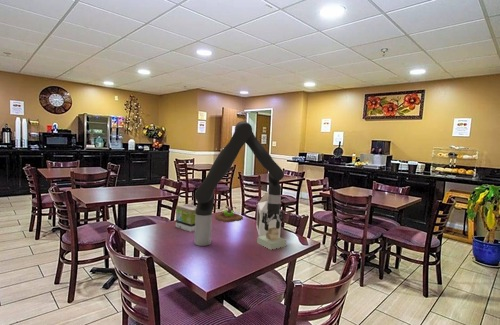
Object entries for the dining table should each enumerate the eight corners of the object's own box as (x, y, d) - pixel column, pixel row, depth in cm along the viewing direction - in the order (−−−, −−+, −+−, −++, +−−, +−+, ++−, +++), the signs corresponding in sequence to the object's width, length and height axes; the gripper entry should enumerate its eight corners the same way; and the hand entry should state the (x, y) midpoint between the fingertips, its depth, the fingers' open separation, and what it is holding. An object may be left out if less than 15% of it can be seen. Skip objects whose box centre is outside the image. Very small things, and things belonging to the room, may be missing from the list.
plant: (210, 217, 222) (210, 203, 221) (230, 214, 234) (231, 200, 234) (225, 224, 207) (226, 208, 206) (246, 220, 219) (247, 206, 218)
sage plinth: (257, 243, 170) (257, 237, 170) (272, 240, 177) (272, 233, 177) (270, 250, 160) (270, 243, 160) (286, 246, 167) (286, 239, 167)
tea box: (174, 227, 192) (175, 205, 191) (186, 224, 200) (187, 203, 199) (190, 232, 184) (191, 209, 183) (201, 229, 192) (202, 207, 191)
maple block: (265, 237, 169) (266, 227, 168) (272, 236, 172) (272, 226, 171) (271, 240, 165) (272, 230, 164) (277, 239, 168) (278, 229, 167)
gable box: (280, 238, 181) (282, 194, 179) (259, 238, 180) (261, 193, 178) (274, 228, 203) (277, 188, 201) (256, 227, 202) (258, 187, 200)
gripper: (278, 199, 174) (276, 226, 175) (260, 201, 166) (258, 229, 167) (287, 202, 168) (285, 229, 169) (268, 204, 160) (266, 232, 161)
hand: (272, 229), depth 168 cm, fingers open, 8 cm apart
